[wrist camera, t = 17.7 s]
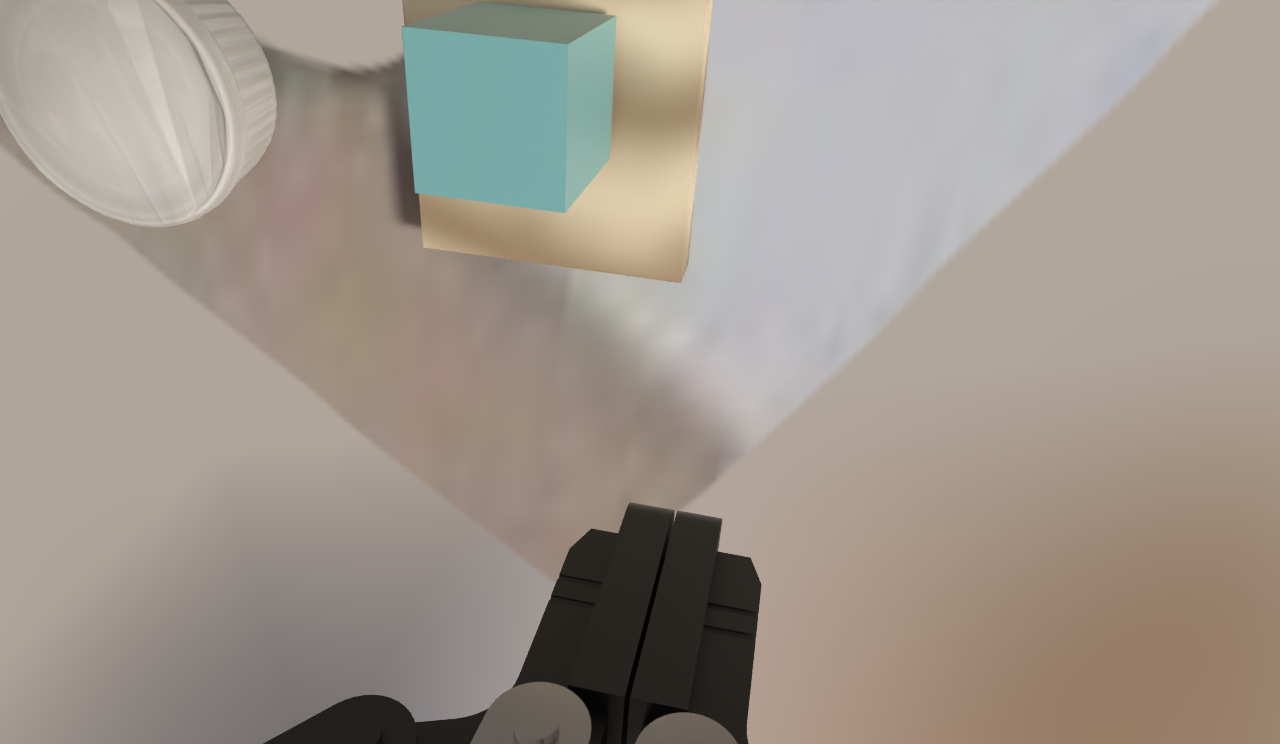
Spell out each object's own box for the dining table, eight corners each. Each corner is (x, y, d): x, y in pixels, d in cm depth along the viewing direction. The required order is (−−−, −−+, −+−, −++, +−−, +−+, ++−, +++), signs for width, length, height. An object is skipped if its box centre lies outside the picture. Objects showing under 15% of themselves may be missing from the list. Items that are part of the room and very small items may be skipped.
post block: (412, -166, 31) (287, -182, 24) (726, -146, 30) (692, -157, 22) (440, 231, 40) (353, 308, 32) (687, 265, 38) (653, 353, 31)
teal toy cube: (478, 1, 31) (401, 26, 26) (616, 15, 31) (568, 44, 25) (483, 142, 34) (415, 192, 29) (609, 158, 33) (564, 213, 28)
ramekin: (348, 98, 37) (282, 128, 33) (219, 235, 42) (147, 276, 38) (150, -123, 34) (48, -124, 30) (38, 53, 39) (-64, 75, 35)
